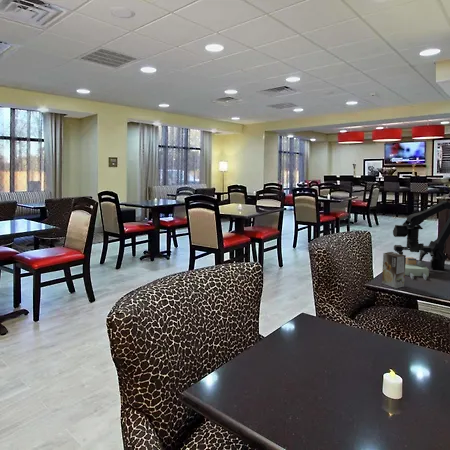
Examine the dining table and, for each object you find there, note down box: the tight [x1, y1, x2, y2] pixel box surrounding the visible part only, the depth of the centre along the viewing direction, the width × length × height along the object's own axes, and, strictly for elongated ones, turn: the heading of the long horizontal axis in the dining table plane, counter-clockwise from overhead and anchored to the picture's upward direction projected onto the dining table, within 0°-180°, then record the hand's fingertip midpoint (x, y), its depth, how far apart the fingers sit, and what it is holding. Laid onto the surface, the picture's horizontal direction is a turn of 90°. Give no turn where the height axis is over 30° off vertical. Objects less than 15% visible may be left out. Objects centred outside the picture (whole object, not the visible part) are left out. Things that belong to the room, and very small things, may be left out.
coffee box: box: [381, 251, 407, 289], centre depth 195 cm, size 9×6×16 cm
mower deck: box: [405, 260, 430, 281], centre depth 211 cm, size 12×16×6 cm
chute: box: [405, 256, 417, 265], centre depth 224 cm, size 4×7×7 cm, turn 166°
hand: (411, 263), depth 224 cm, fingers open, 9 cm apart
